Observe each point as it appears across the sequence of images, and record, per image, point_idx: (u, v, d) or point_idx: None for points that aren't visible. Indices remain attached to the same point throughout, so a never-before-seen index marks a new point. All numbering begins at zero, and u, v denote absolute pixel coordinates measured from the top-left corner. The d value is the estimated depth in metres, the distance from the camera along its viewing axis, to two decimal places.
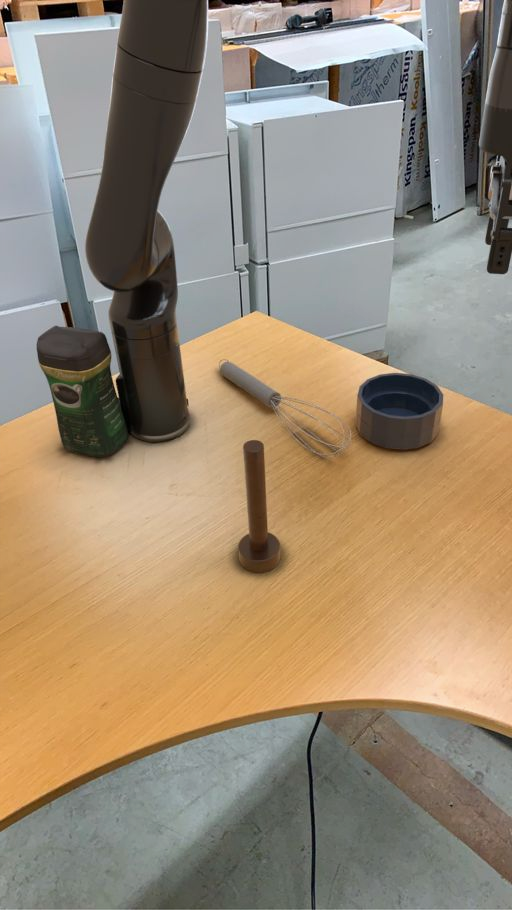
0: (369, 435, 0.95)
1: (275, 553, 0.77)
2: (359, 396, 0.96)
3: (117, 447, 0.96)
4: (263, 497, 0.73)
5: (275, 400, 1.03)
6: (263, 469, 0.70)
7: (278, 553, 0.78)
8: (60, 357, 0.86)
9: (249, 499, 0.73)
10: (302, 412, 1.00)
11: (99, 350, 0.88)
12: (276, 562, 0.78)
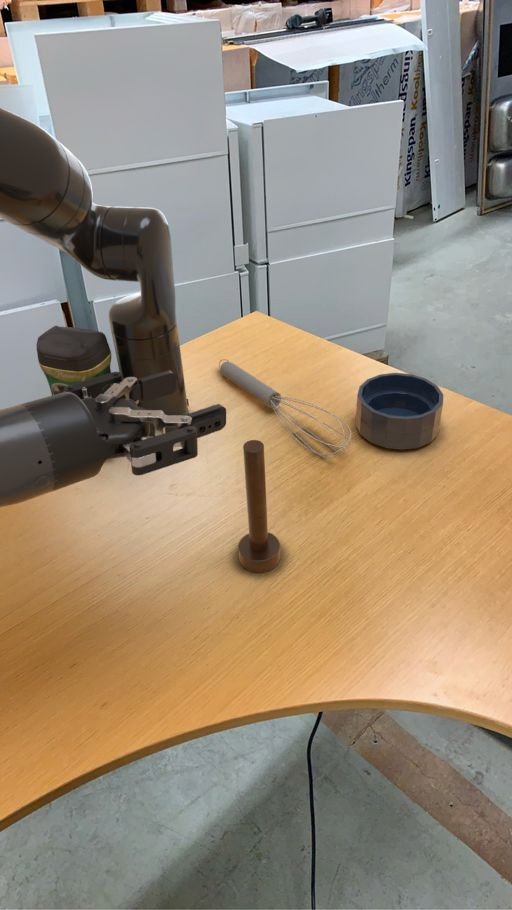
0: (369, 435, 0.95)
1: (275, 553, 0.77)
2: (359, 396, 0.96)
3: None
4: (263, 497, 0.73)
5: (275, 400, 1.03)
6: (263, 469, 0.70)
7: (278, 553, 0.78)
8: (60, 357, 0.86)
9: (249, 499, 0.73)
10: (302, 412, 1.00)
11: (99, 350, 0.88)
12: (276, 562, 0.78)
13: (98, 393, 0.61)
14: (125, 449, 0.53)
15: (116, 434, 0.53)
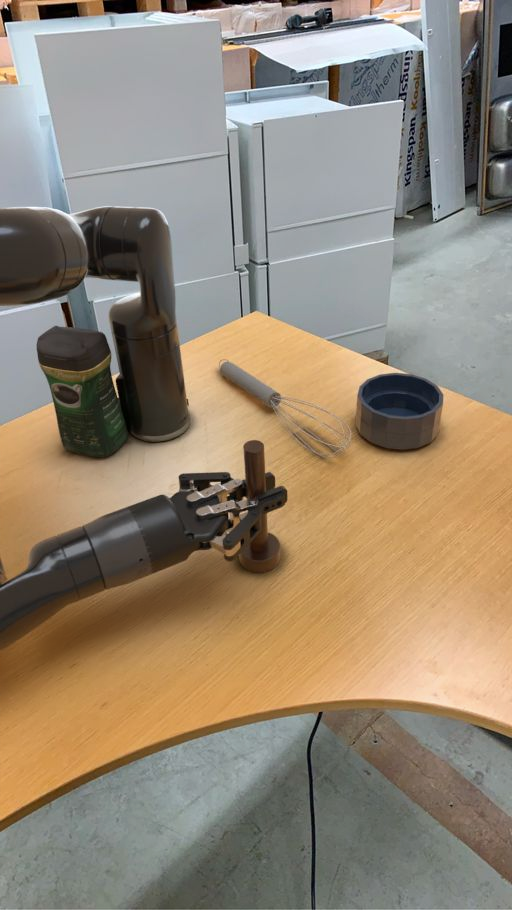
0: (369, 435, 0.95)
1: (275, 553, 0.77)
2: (359, 396, 0.96)
3: (117, 447, 0.96)
4: None
5: (275, 400, 1.03)
6: (263, 469, 0.70)
7: (278, 553, 0.78)
8: (60, 357, 0.86)
9: None
10: (302, 412, 1.00)
11: (99, 350, 0.88)
12: (276, 562, 0.78)
13: (205, 486, 0.75)
14: (215, 544, 0.67)
15: (204, 534, 0.67)
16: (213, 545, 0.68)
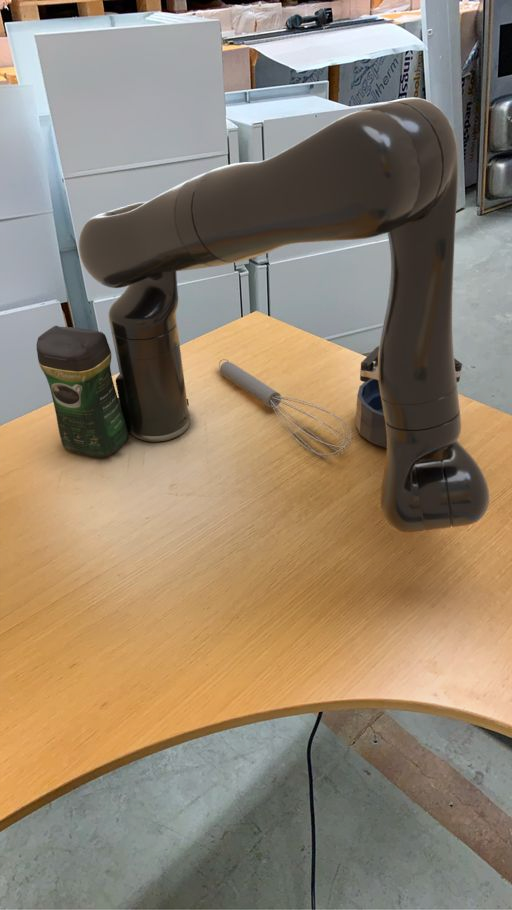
0: (369, 435, 0.95)
1: None
2: (359, 396, 0.96)
3: (117, 447, 0.96)
4: None
5: (275, 400, 1.03)
6: None
7: None
8: (60, 357, 0.86)
9: None
10: (302, 412, 1.00)
11: (99, 350, 0.88)
12: None
13: (377, 363, 0.88)
14: None
15: None
16: None
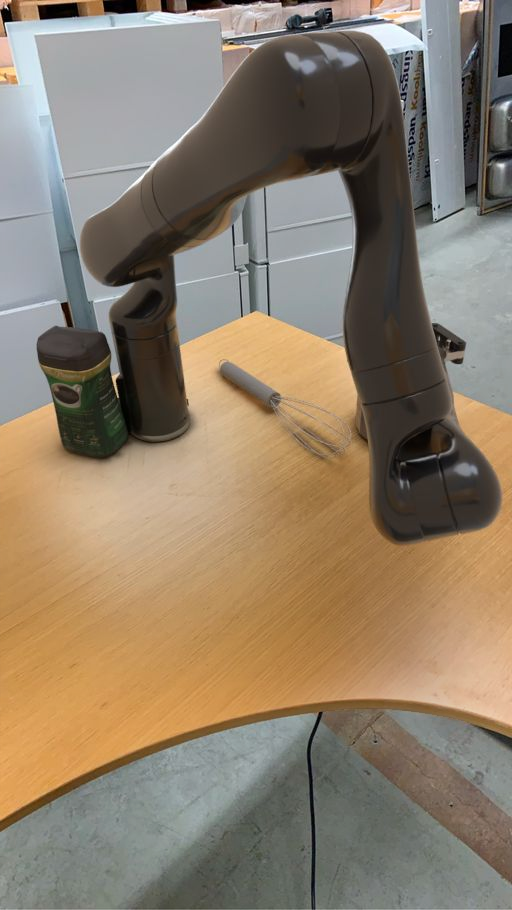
0: None
1: None
2: None
3: (117, 447, 0.96)
4: None
5: (275, 400, 1.03)
6: None
7: None
8: (60, 357, 0.86)
9: None
10: (302, 412, 1.00)
11: (98, 350, 0.88)
12: None
13: None
14: (451, 354, 0.72)
15: (442, 351, 0.71)
16: (448, 357, 0.72)
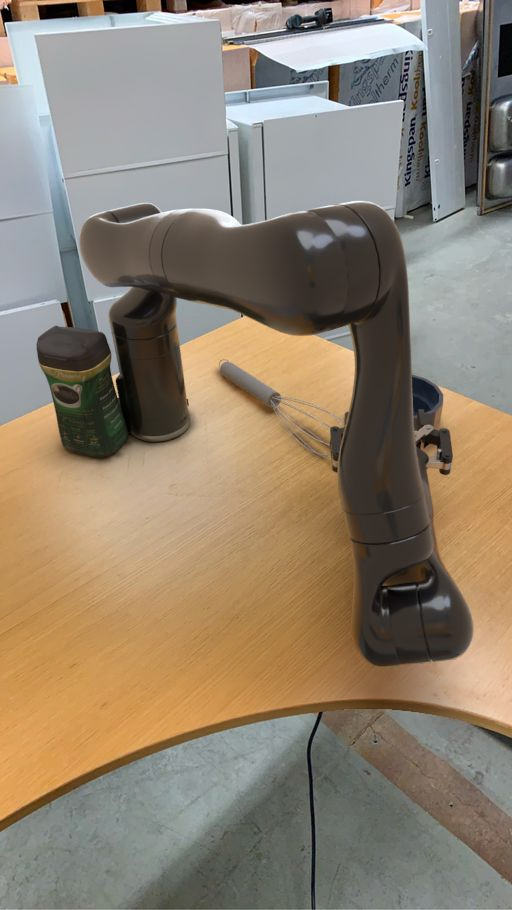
0: None
1: None
2: None
3: (117, 447, 0.96)
4: None
5: (275, 400, 1.03)
6: None
7: None
8: (60, 357, 0.86)
9: None
10: (302, 412, 1.00)
11: (98, 350, 0.88)
12: None
13: None
14: (434, 463, 0.75)
15: (423, 458, 0.75)
16: (431, 465, 0.75)
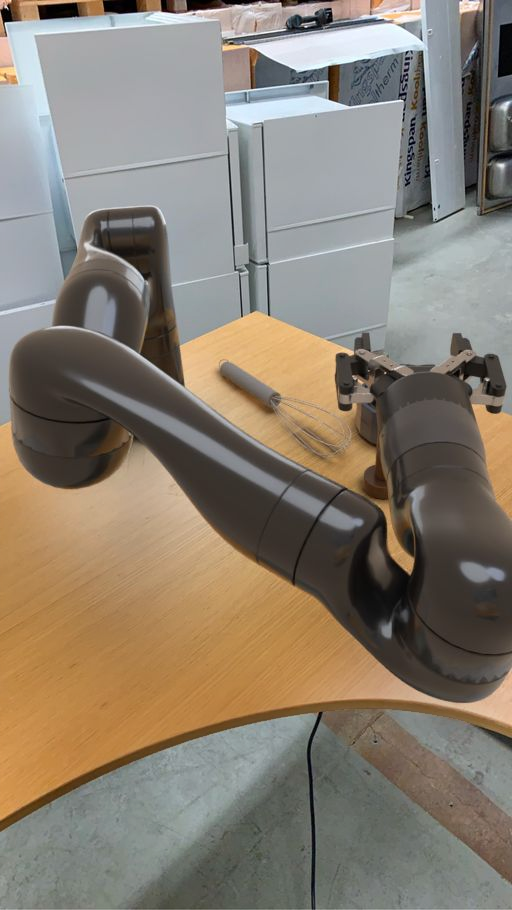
0: (369, 435, 0.95)
1: None
2: None
3: None
4: None
5: (275, 400, 1.03)
6: None
7: None
8: None
9: None
10: (302, 412, 1.00)
11: None
12: None
13: None
14: (480, 397, 0.54)
15: (465, 389, 0.54)
16: (475, 400, 0.55)
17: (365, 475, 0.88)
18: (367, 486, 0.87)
